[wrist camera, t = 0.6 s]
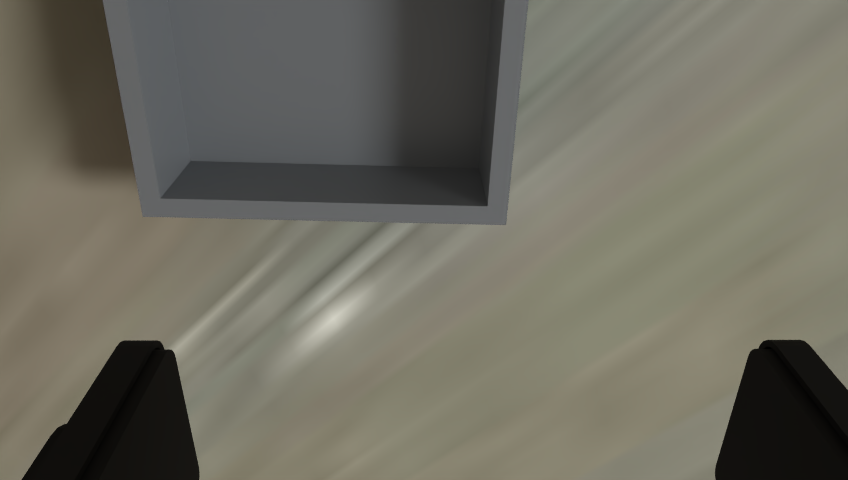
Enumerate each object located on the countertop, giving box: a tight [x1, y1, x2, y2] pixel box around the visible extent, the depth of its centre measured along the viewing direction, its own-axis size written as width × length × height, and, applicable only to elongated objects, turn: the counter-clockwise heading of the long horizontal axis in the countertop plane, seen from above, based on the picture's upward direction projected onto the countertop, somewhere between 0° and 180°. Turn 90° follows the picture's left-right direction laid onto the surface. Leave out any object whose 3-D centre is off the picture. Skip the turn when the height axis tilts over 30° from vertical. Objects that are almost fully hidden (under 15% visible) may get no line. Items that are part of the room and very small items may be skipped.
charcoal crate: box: [103, 0, 528, 225], centre depth 32 cm, size 16×18×6 cm
